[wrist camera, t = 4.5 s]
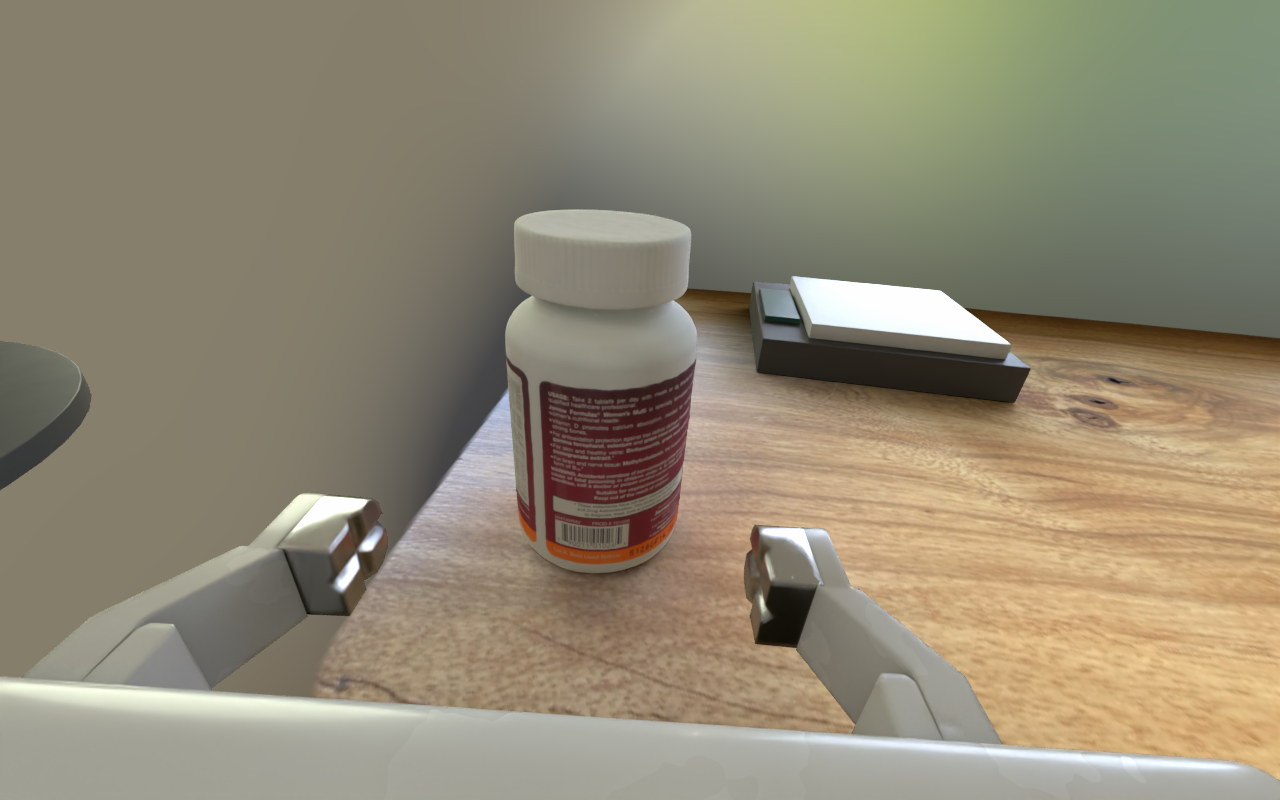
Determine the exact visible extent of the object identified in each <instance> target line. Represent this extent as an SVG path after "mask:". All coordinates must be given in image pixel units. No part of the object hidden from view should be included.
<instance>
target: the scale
mask: <svg viewBox="0 0 1280 800" xmlns="http://www.w3.org/2000/svg"><path fill="white" fill-rule="evenodd" d="M749 310H750V319H751V327H752V336H753V344H754V353H755V361H756V370H757V372H760V373H768V374H777V375H785V376H793V377H802V378H810V379H819V380H827V381H836V382H844V383H853V384H861V385H869V386H878V387H886V388H895V389H903V390H912V391H920V392H929V393H937V394H945V395H954V396H962V397H971V398H979V399H988V400H996V401H1004V402H1013V403H1014V402H1015V401H1016V399H1017V397H1018V395H1019V392H1020V390H1021V388H1022V386H1023V384H1024V382H1025V380H1026V378H1027V376H1028V374H1029V371H1030V368H1029V367H1028V366H1027V365H1026V364H1024V363H1023V362H1022V361H1021V360H1019V359H1018V358H1017V357H1015V356H1014V355H1013V354H1012V353H1010V352H1009V351H1010V349H1011V347H1012V345H1011V344H1010V343H1009V342H1007V341H1006V340H1005V339H1003V338H1002V337H1001V336H999V335H998V334H997V333H996V332H994V331H993V330H992V329H990V328H989V327H988V326H986V325H985V324H984V323H982V322H981V321H980V320H978V319H977V318H976V317H974V316H973V315H972V314H970V313H969V312H968V311H967V310H965V309H964V308H963V307H961V306H960V305H959V304H957V303H956V302H955V301H953V300H952V299H951V298H949V297H948V296H947V295H945V294H944V293H943V292H941V291H937V290H927V289H917V288H907V287H897V286H887V285H876V284H866V283H856V282H845V281H836V280H825V279H814V278H805V277H795V276H792V278H791V283H790V285H784V284H775V283H765V282H753V287H752V293H751V299H750V305H749Z"/></svg>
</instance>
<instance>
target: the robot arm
mask: <svg viewBox="0 0 1280 800" xmlns="http://www.w3.org/2000/svg"><path fill="white" fill-rule="evenodd" d="M381 514H382V511H381V507H380V503H379V501H377V500H375V499H373V498H362V497H352V496H341V495H330V494H329V495H324V494H314V493H304V494H301V495H299V496H297V497H296V498H295V499H294V500H293V501H292V502H291V503H290V504H289V505H288V506H287V507H286V508H285V509H284V510H283V511H282V512H281V513H280V514H279V515H278V516H277V518H276V519H275V520H274V521H273V522H272V523H271V524H270V525H269V526H268V527H267V528H266V529H265V530H264V531H263V532H262V533H261V534H260V535H259V536H258V537H257V538H256V539H255V540H254V541H253V542H252V543H251V544H250V545H249V546H240V547H237V548H235V549H233V550H231V551H229V552H227V553H225V554H223V555H221V556H218V557H216V558H214V559H212V560H210V561H208V562H206V563H204V564H202V565H200V566H197V567H195V568H193V569H191V570H189V571H187V572H184V573H182V574H180V575H178V576H176V577H174V578H172V579H170V580H168V581H166V582H163V583H161V584H159V585H157V586H155V587H153V588H151V589H148V590H146V591H144V592H142V593H140V594H138V595H136V596H134V597H132V598H129V599H127V600H125V601H123V602H121V603H119V604H117V605H115V606H112V607H110V608H108V609H106V610H104V611H102V612H100V613H98V614H96V615H93V616H91V617H90V618H89V619H88V620H87V621H86V622H85V623H83V624H82V625H81V626H80V627H79V628H78V629H76V630H75V631H74V632H73V633H72V634H71V635H70V636H68V637H67V638H66V639H65V640H64V641H63V642H61V643H60V644H59V645H58V646H57V647H56V648H55V649H53V650H52V651H51V652H50V653H49V654H48V655H47V656H45V657H44V658H43V659H42V660H41V661H40V662H38V663H37V664H36V665H35V666H34V667H33V668H32V669H30V670H29V671H28V672H27V673H26V674H25V675H23V676H22V677H21V678H16V677H1V676H0V800H1280V780H1279V779H1277V778H1275V777H1274V776H1272V775H1270V774H1269V773H1267V772H1265V771H1263V770H1261V769H1259V768H1256V767H1254V766H1251V765H1248V764H1244V763H1240V762H1237V761H1229V760H1221V759H1212V758H1199V757H1183V756H1167V755H1151V754H1136V753H1121V752H1106V751H1091V750H1076V749H1061V748H1045V747H1031V746H1016V745H1003V744H1002V742H1001V740H1000V738H999V737H998V735H997V733H996V731H995V729H994V728H993V726H992V724H991V722H990V720H989V719H988V717H987V715H986V713H985V711H984V710H983V708H982V706H981V704H980V702H979V701H978V699H977V697H976V695H975V693H974V692H973V690H972V688H971V686H970V684H969V683H968V681H967V679H966V677H965V676H964V675H962V674H961V673H960V672H959V671H958V670H956V669H955V668H954V667H953V666H952V665H950V664H949V663H948V662H947V661H946V660H944V659H943V658H942V657H941V656H939V655H938V654H937V653H936V652H935V651H933V650H932V649H931V648H930V647H929V646H927V645H926V644H925V643H924V642H923V641H921V640H920V639H919V638H918V637H917V636H915V635H914V634H913V633H912V632H911V631H909V630H908V629H907V628H906V627H905V626H903V625H902V624H901V623H900V622H898V621H897V620H896V619H895V618H894V617H892V616H891V615H890V614H889V613H888V612H886V611H885V610H884V609H883V608H882V607H880V606H879V605H878V604H877V603H876V602H874V601H873V600H872V599H871V598H870V597H868V596H867V595H866V594H865V593H863V592H862V591H861V590H860V589H857V588H852V587H851V585H850V583H849V580H848V578H847V576H846V573H845V571H844V569H843V566H842V564H841V562H840V559H839V557H838V555H837V552H836V550H835V548H834V545H833V543H832V541H831V538H830V536H829V534H828V532H827V531H826V530H825V529H822V528H803V527H801V528H797V527H780V526H764V525H754V527H753V529H752V533H751V537H750V540H751V545H752V550H751V551H749V552H748V553H747V555H746V560H745V566H744V585H745V592H746V598H747V599H748V600H749V601H750V602H751V603H752V609H751V613H750V619H751V625H752V630H753V635H754V640H755V644H762V645H772V646H782V647H793V648H797V649H796V650H797V652H798V653H799V654H800V655H801V657H802V658H803V659H804V660H805V662H806V663H807V664H808V665H809V667H810V668H811V669H812V670H813V672H814V673H815V674H816V675H817V677H818V678H819V679H820V681H821V682H822V683H823V684H824V686H825V687H826V688H827V689H828V691H829V692H830V693H831V694H832V696H833V697H834V698H835V699H836V701H837V702H838V703H839V704H840V706H841V707H842V708H843V710H844V711H845V712H846V713H847V715H848V716H849V717H850V718H851V720H852V721H853V722H854V723H855V725H856V726H855V728H854V730H853V732H852V734H841V733H826V732H811V731H797V730H782V729H767V728H753V727H738V726H724V725H709V724H694V723H679V722H664V721H649V720H634V719H619V718H604V717H589V716H574V715H559V714H544V713H530V712H515V711H501V710H486V709H472V708H457V707H443V706H428V705H414V704H399V703H384V702H370V701H355V700H340V699H326V698H311V697H295V696H281V695H267V694H251V693H237V692H223V691H212V689H211V688H212V687H214V686H215V685H216V684H218V683H219V682H221V681H222V680H223V679H225V678H226V677H227V676H229V675H230V674H231V673H233V672H234V671H235V670H237V669H238V668H239V667H241V666H242V665H243V664H245V663H246V662H247V661H249V660H250V659H251V658H253V657H254V656H255V655H257V654H258V653H260V652H261V651H262V650H264V649H265V648H266V647H268V646H269V645H270V644H272V643H273V642H274V641H276V640H277V639H278V638H280V637H281V636H282V635H284V634H285V633H286V632H288V631H289V630H290V629H292V628H293V627H294V626H296V625H297V624H298V623H300V622H301V621H302V620H304V619H305V618H306V617H307V614H311V615H337V616H350V615H351V613H352V612H353V610H354V609H355V607H356V605H357V604H358V602H359V601H360V599H361V598H362V596H363V594H364V593H365V591H366V590H367V589H366V585H365V580H366V579H368V578H369V577H371V576H372V575H374V574H376V573H377V572H378V570H379V569H380V567H381V565H382V564H383V562H384V559H385V556H386V552H387V549H388V536H387V531H386V528H385V527H384V526H382V525H381V524H380V523H379V522H378V521H377V520H378V518H379V517H380V516H381Z"/></svg>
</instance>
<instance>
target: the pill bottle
mask: <svg viewBox="0 0 1280 800" xmlns="http://www.w3.org/2000/svg"><path fill="white" fill-rule="evenodd" d="M514 242H515V280H516V283H517V285H518V287H520V288H521V289H522V290H523V291H525V292H526V293H528V294H530V295H532V296H531V297H530V298H528V299H526V300H525V301H523V302H522V303H521V304H520V305H519V306H518V307H517V308H516V309H515V310H514V312H513V313H512V315H511V317H510V318H509V321H508V323H507V327H506V334H505V338H506V361H507V373H508V387H509V400H510V413H511V426H512V439H513V452H514V465H515V476H516V492H517V501H518V511H519V519H520V525H521V529H522V532H523V534H524V536H525V538H526V540H527V541H528V543H529V544H530V545H531V546H532V548H533V549H534V550H535V551H536V552H537V553H538V554H540V555H541V556H542V557H543V558H545V559H546V560H548V561H550V562H551V563H553V564H555V565H557V566H559V567H561V568H564V569H568V570H571V571H575V572H582V573H609V572H616V571H621V570H624V569H628V568H631V567H634V566H636V565H639V564H641V563H643V562H645V561H647V560H648V559H650V558H652V557H653V556H654V555H655V554H657V553H658V552H659V551H660V550H661V549H662V548H663V547H664V546H665V545H666V544H667V542H668V541H669V539H670V538H671V536H672V534H673V531H674V529H675V525H676V521H677V514H678V506H679V499H680V488H681V480H682V472H683V461H684V454H685V446H686V437H687V429H688V422H689V418H690V414H689V412H690V403H691V394H692V385H693V377H694V370H695V364H696V350H697V332H696V328H695V325H694V323H693V321H692V319H691V317H690V316H689V314H688V313H687V312H686V311H685V310H684V309H683V308H682V307H681V306H680V305H679V304H678V303H676V302H675V301H673V300H675V299H677V298H679V297H681V296H682V295H683V294H684V293H685V292H686V290H687V285H688V277H689V274H688V267H689V256H690V246H691V232H690V229H689V228H688V227H687V226H686V225H684V224H682V223H679V222H677V221H674V220H670V219H667V218H662V217H658V216H652V215H646V214H638V213H629V212H620V211H606V210H605V211H604V210H554V211H544V212H536V213H531V214H527V215H524V216H521V217H520V218H518V219H517V220H516V222H515V224H514Z"/></svg>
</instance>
